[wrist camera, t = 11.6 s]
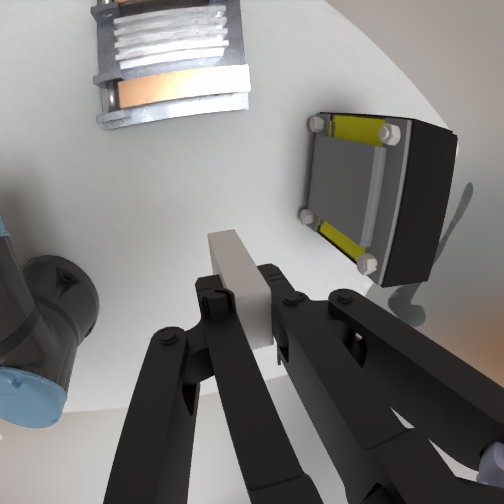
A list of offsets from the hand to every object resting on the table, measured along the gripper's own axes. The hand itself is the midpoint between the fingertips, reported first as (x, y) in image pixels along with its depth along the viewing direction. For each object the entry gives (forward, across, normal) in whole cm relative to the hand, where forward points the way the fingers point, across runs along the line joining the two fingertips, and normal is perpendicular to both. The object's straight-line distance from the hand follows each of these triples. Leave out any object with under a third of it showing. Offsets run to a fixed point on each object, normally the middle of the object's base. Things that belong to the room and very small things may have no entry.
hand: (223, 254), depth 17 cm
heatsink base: (+26, -1, +18) cm, 32 cm away
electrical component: (+27, +21, -2) cm, 34 cm away
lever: (+20, 0, +12) cm, 23 cm away
